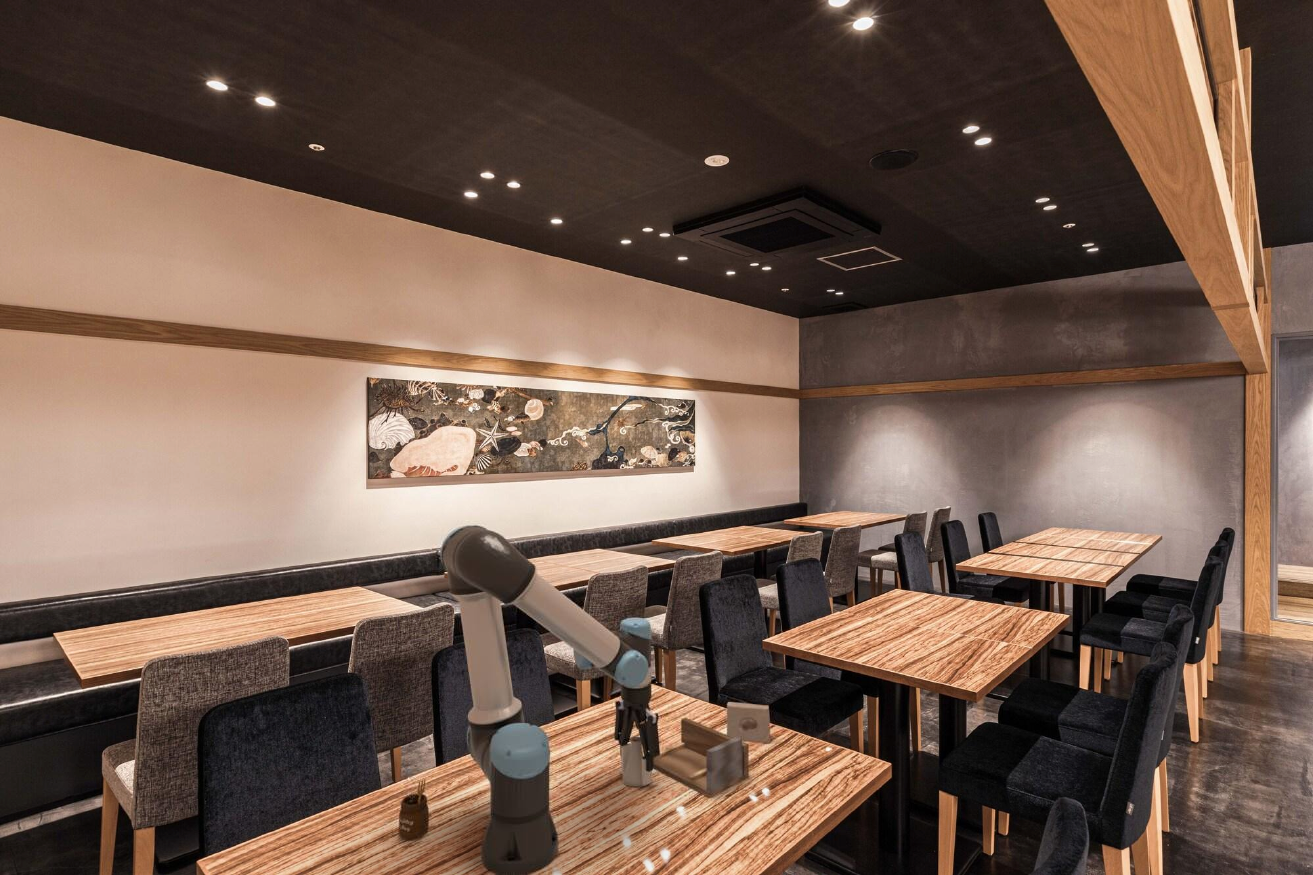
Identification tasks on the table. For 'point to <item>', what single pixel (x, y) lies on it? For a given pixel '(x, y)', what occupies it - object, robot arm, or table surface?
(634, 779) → the flask
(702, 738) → the brown open box
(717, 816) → the table surface
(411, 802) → the utensil holder
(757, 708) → the fossil
